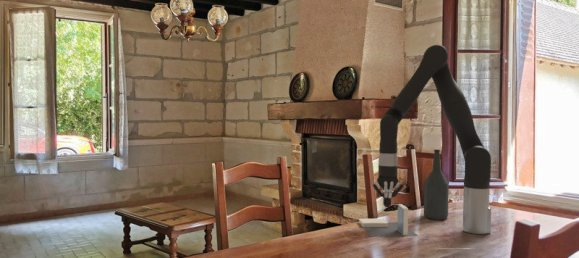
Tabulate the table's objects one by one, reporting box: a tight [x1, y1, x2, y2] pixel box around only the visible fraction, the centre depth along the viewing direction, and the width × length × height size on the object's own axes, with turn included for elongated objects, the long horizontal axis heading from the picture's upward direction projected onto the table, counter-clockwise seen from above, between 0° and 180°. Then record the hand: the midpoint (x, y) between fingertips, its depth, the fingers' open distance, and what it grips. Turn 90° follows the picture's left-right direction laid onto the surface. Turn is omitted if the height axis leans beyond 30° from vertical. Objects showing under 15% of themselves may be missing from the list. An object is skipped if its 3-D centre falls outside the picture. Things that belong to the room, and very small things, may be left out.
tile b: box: [397, 203, 409, 235], centre depth 176 cm, size 2×8×10 cm, turn 2°
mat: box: [360, 221, 419, 238], centre depth 181 cm, size 18×22×1 cm
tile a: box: [358, 218, 388, 228], centre depth 188 cm, size 2×8×10 cm
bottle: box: [423, 149, 450, 221], centre depth 203 cm, size 10×10×30 cm
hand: (387, 206), depth 188 cm, fingers closed
